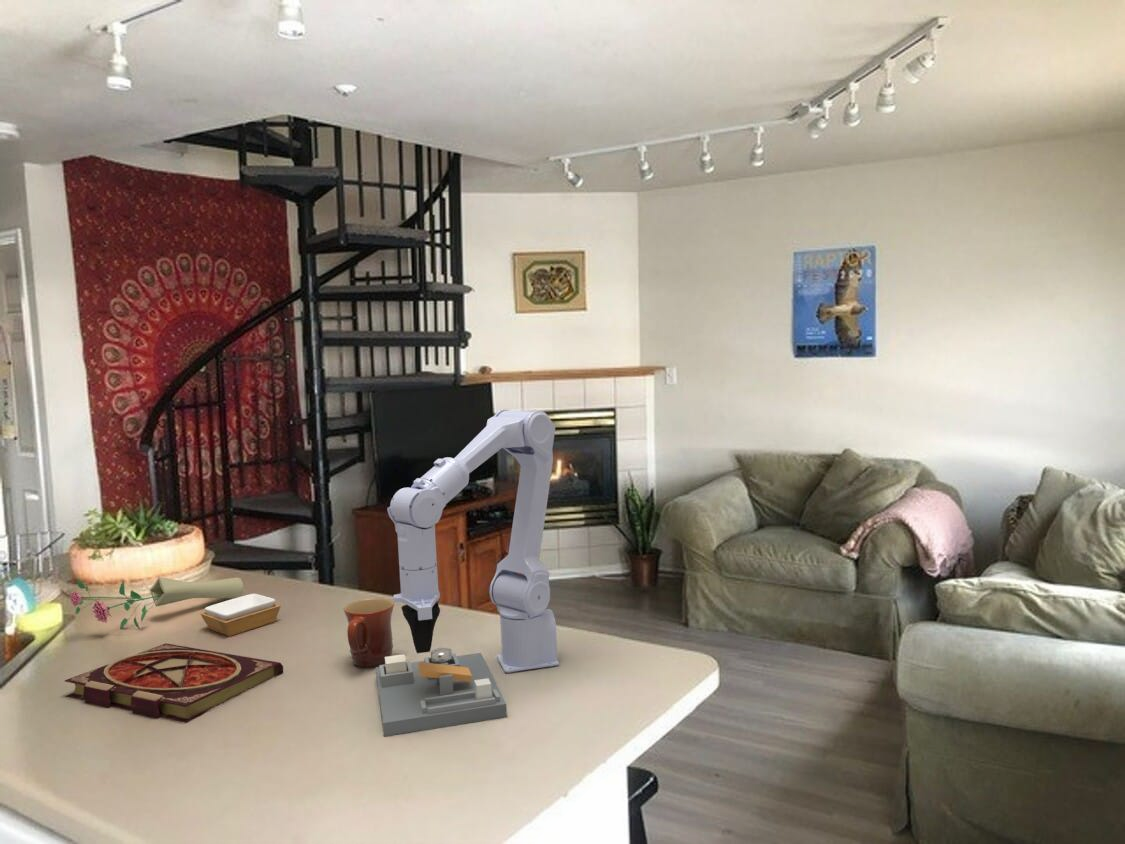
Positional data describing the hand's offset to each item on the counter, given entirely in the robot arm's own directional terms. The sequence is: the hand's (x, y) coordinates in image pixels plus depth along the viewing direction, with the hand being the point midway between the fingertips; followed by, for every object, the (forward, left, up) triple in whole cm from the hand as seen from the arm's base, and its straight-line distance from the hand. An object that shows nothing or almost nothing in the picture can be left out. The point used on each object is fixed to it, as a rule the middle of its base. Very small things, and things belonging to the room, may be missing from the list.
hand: (423, 651), depth 130 cm
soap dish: (+32, -52, -9) cm, 62 cm away
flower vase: (+49, -63, -9) cm, 80 cm away
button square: (+4, -7, -5) cm, 9 cm away
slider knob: (-8, +6, -6) cm, 12 cm away
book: (+40, -23, -9) cm, 47 cm away
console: (-2, -2, -8) cm, 9 cm away
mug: (+8, -20, -9) cm, 23 cm away
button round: (-4, -7, -5) cm, 9 cm away
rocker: (-3, 0, -4) cm, 5 cm away
